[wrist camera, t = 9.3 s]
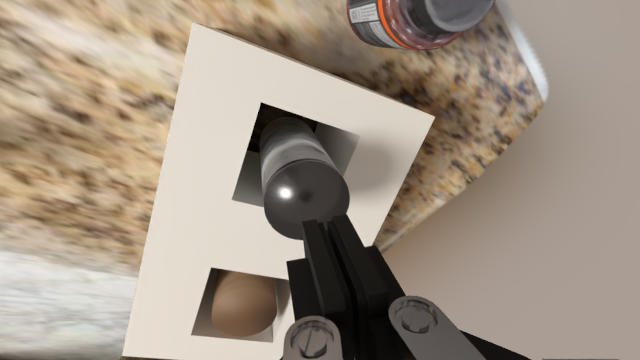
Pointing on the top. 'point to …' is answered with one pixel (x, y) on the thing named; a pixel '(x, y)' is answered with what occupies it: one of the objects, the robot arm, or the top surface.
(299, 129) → the steel pin
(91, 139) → the top surface
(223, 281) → the walnut dowel
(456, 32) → the supplement bottle
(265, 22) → the top surface
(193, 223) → the socket block
